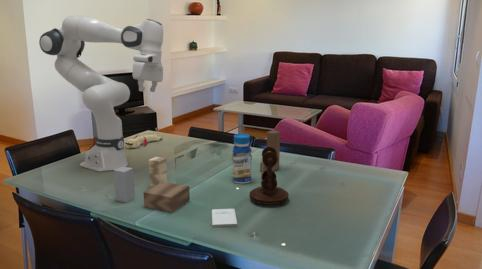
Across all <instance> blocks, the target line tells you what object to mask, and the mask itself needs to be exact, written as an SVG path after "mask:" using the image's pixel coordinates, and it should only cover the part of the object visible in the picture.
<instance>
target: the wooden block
mask: <svg viewBox="0 0 482 269" xmlns="http://www.w3.org/2000/svg"><path fill="white" fill-rule="evenodd" d="M280 143H281V131H280V130H275V129H272V130H268V131H267V132H266V147H273V148H274V149H275V150H276V152H277V157H278V161H277V163H276V164H275V165H274V166H273V167H272V171H273V172H275V171H277V169H278V170H280V151H281V150H280V148H281V146H280V145H281V144H280ZM262 163H263V161H262V160H261V162H260V164H259V168H260V169H259V170H260V172H261V170H262ZM265 171H267V167H266V166H265V165H264V168H263V173H264V172H265Z"/></svg>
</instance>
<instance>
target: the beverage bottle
mask: <svg viewBox="0 0 482 269" xmlns="http://www.w3.org/2000/svg"><path fill="white" fill-rule="evenodd" d="M250 142H251V136H250V135H249V134H247V133H236V134H234V135H233V144H234V145H233V148H232V150H231V152H232V155H231V160H232V182H233V183H235V184H239V185H241V184H242V185H243V184H248V183H250V182H251V181H252V160H253V156H252V151H253V150H252V148H251V146H250Z"/></svg>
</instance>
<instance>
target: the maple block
mask: <svg viewBox="0 0 482 269" xmlns="http://www.w3.org/2000/svg"><path fill="white" fill-rule="evenodd" d="M167 173H168V171H167V158H166V157H162V156H161V157H160V156H154V157H152V158H150V159H148V175H149V179H148V180H149V189H150V188H152V187H154V186H156V185H157V184H159V183H161V182H167V183H168V174H167Z"/></svg>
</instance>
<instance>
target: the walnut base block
mask: <svg viewBox="0 0 482 269" xmlns="http://www.w3.org/2000/svg"><path fill="white" fill-rule="evenodd" d="M189 200H190V185H186V184H178V183H172V182H168V181H167V182H161V183H159V184H157V185H156V186H154V187H152V188H150V187H149V189H147V190H144V191H143V203H144V204H143V207H144V208H147V207H148V209H152V208H153V210H157V209H158V210H159V211H162V210H163V212H167V211H169V213H172V212H173V213H174V212H175V211H177V210H178V209H180V208H182V207H183V206H184V205H185V204H187V203H188V202H189ZM186 202H187V203H186ZM182 205H183V206H182ZM179 207H180V208H179ZM176 209H177V210H176ZM158 210H157V211H158Z"/></svg>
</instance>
